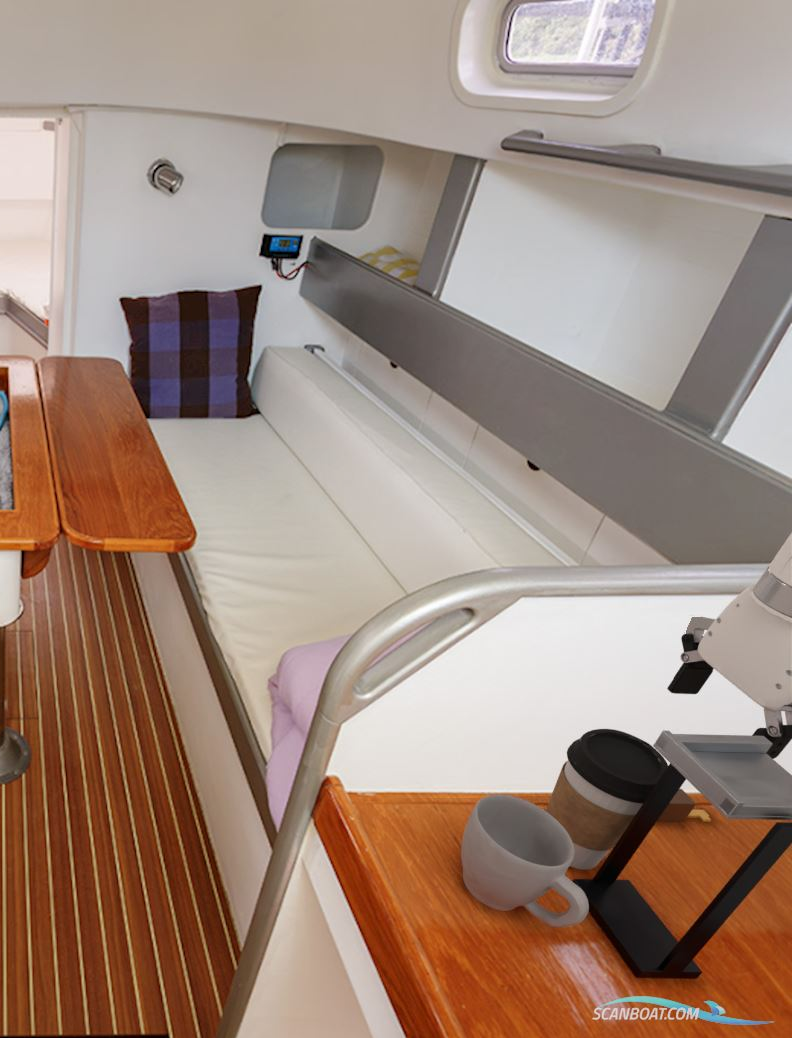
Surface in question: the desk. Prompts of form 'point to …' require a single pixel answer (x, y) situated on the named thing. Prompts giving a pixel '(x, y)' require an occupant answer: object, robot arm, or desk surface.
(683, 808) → the key
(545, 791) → the desk surface
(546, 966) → the desk surface
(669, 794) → the stand
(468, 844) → the mug
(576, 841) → the coffee cup
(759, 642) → the robot arm
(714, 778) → the silver letter tray
